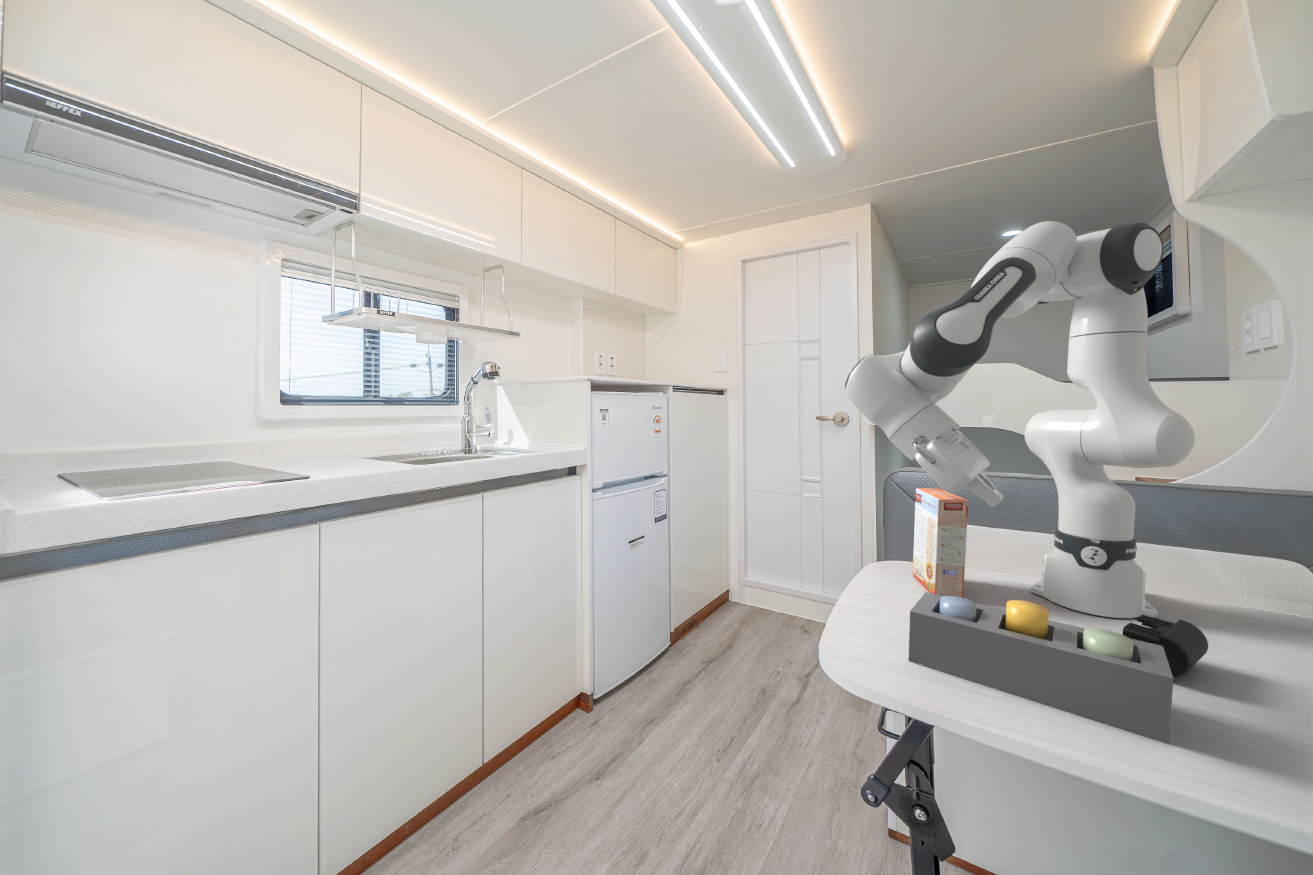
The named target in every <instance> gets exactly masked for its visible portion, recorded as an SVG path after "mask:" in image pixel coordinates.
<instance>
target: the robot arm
mask: <svg viewBox="0 0 1313 875" xmlns="http://www.w3.org/2000/svg"><path fill="white" fill-rule="evenodd" d="M1163 256H1164V243H1163V239H1162V236H1161V234H1160V233H1159V232H1158V230H1157V229H1155V228H1154V227H1153V226H1151V225H1150V224H1149V223H1146V222H1131V223H1123V224H1118V225H1115V226H1112V228H1107V229H1102V230H1097V231H1091V232H1088V233H1084V234H1082V235H1078V236H1077V235H1076V233H1075V231H1074V230H1073V229H1072V228H1071V226H1069V225H1068V224H1066V223H1063V222H1059V221H1055V220H1048V221H1047V220H1045V221H1041V222H1040V221H1039V222H1037V223H1035V224H1033V225H1030V226H1028V227H1027V228H1026V229H1024V230H1022V231H1021V232H1019V233H1018V234H1017V235H1015V236H1014V237H1012V238H1011V239H1010V240H1009V241H1008V242H1007V243H1005V244H1004V245H1003V246H1002V247H1001V248H1000V249H999V250H998V251H997V252H996V253H994V255H993V256H992V257H990V258H989V259H988V260H987V262H986V263H985V264H984V266H982V268H981V269H980V270H979V272H978V274H977V275H976V277H975V278H974V280H973V282H972V284H971V286H970V288H969V289H968V290H967V291H966V292H965V293H964V294H963V295H961V297H960V298H958V299H957V300H956V301H954V302H951V303H949V304H947V305H945V306H942V307H939V308H938V309H935V310H933V311H931V312H930V313H928V314H926V315H925V316H924V317H922V318H921V319H920V321H919V322H918V323H917V324H916V327H915V329H914V331H913V334H912V337H911V339H910V342H909V343H908V346H907V348H906V349H905V350H904V351H900V352H896V353H893V354H885V355H884V354H883V355H877V354H872V353H869V354H867V355H865V356H863V357H862V358H861V359H860V360H859V361H858V362H857V363H855V365H854V366H853V368H852V370H851V371H850V372H849V374H848V375H847V378H846V380H845V383H844V391H845V393H846V396H847V397H848V398H849V399H850V401H851V402H852V404H853V405H854V406H855V407H856V408H857V409H858V411H860V413H861V414H862V415H863V416H864V417H865V418H867V419H868V421H870V422H871V423H872V424H873V425H876V426H877V427H878V428H880V429H881V431H883V433H884V434H885V435H886V437H887V439H888V440H889V441H890V442H891V443H892V444H893V445H894V446H895V447H896V448H897V449H898V450H899V451H900V452H901V453H902V454H904V455H905V456H906V458H908V459H909V461H911V462H913V461H915V460H916V462H917V463H918V464H919V465H920V467H921V468H922V469H923V470H924V471H925V472H926V473H927V474H928V476H930V478H932V480H933V481H934V482H935V483H936V484H937V485H938V486H939V487H941V488H940V489H943V490H945V491H946V492H948V493H950V494H954V495H956V493H958V492H960V490H962V488H964V487H965V488H966V489H967V490H969V491H970V492H971V493H972V494H974V495H975V496H976V497H978V498H981V499H982V500H983V501H984V502H985V503H987V505H988V506H989V507H993V508H994V507H995V506H997V505H998V504H1000V503H1001V502H1002V500H1003V499H1004V495H1003V493H1001V492H1000V491H999V490H998V488H996V486H994V484H993V483H992V482H991V480H990V479H989V478H988V476H986V475H985V474H984V473H983V472H984V471H985V470H986V469H987V468H989V467H990V465H991V464H990V463H991V462H990V461H989V460H988V458H987V457H986V456H985V455H984V454H983V453H982V451H981V450H980V449H979V448H978V447H977V446H976V445H975V444H974V443H973V442H972V441H971V440H970V439H969V437H967V436H966V435H965V434H964V433H963V432H961V430H959V429H960V427H961V426H960V424H958V422H956V421H955V420H954V419H953V417H951V416H950V415H949V414H948V413H946V411H944V410H943V409H942V408H941V407H940V406H938V404H936V403H937V402H939V401H941V400H943V399H944V398H946V397H947V396H948V395H950V394H951V393H952V392H953V391H954V389H955V388H956V387H957V386H958V385H959V383H960V382H961V381H962V380H963V379H964V377H965V376H966V375H967V373H968V372H969V371H970V370H971V369H972V367H974V366H975V364H976V363H978V361H980V359H982V357H984V355H985V354H986V353H987V351H988V349H989V346H990V343H991V338H992V334H993V330H994V329H993V328H994V326H995V324H996V323H997V322H998V321H999V320H1000V318H1008V319H1009V318H1016V317H1019V316H1021V315H1023V314H1024V313H1026V312H1027V311H1029V310H1030V309H1031V308H1033V307H1035V305H1045V304H1049V303H1051V302H1061V301H1063V302H1064V301H1071V300H1073V302H1074V307H1073V310H1072V314H1071V320H1070V326H1069V333H1068V334H1069V337H1068V347H1067V348H1068V349H1067V350H1068V352H1067V367H1066V374H1067V377H1068V379H1069V380H1070V381H1071V382H1072V383H1073V384H1074V385H1076V386H1077V387H1078V386H1079V387H1081V388H1083V389H1085V390H1087V391H1089V392H1090V393H1091V394H1092V396H1093V397H1094V400H1095V404H1096V408H1095V407H1090V408H1087V407H1085V408H1084V407H1082V408H1081V407H1080V408H1079V407H1077V408H1076V407H1074V408H1073V407H1072V408H1071V407H1063V408H1057V409H1056V408H1054V409H1049V410H1045V411H1040V412H1038V413H1036V414H1035V413H1034V415H1033V416H1032V417H1031V418H1030V419H1029V421H1027V423H1026V426H1025V429H1024V442H1025V444H1026V445H1027V447H1028V449H1029V451H1031V452H1032V454H1034V455H1035V456H1036V457H1038V458H1039V459H1040V460H1041V461H1042V462H1043V463H1044V465H1045V466H1046V468H1047V469H1048V470H1049V472H1050V474H1051V476H1052V478H1053V481H1054V484H1055V486H1056V490H1057V497H1058V498H1057V499H1058V500H1057V501H1058V520H1057V527H1056V528H1055V530H1054V535H1053V540H1054V542H1053V543H1054V544H1053V545H1054V549H1053V550H1052V551H1050V552H1048V553H1047V554H1045V555H1044V557H1043V559H1042V562H1043V571H1042V574H1041V576H1042V578H1041V579H1039V580H1038V581H1037V582H1036V583H1034V584H1033V585H1031V586H1030V592H1031V593H1033V594H1035V595H1039V596H1041V597H1043V598H1045V599H1047V600H1049V601H1051V602H1053V603H1055V604H1057V605H1059V606H1062V607H1065V608H1067V609H1070V610H1074V611H1077V612H1082V613H1084V614H1090V615H1095V616H1100V617H1106V618H1115V619H1133V618H1138V617H1139V616H1141V615H1146V616H1150V617H1153V618H1158V617H1159V611H1158V610H1157V609H1156V608H1155V607H1154V606H1152V604H1151V603H1150V602H1149V601H1147V599H1146V579H1147V578H1146V576H1147V575H1146V571H1145V570H1144V569H1143V568H1142V567H1141V566H1140V565H1139V564H1137V562H1136V561H1135V558H1136V555H1137V550H1138V547H1137V539H1136V538H1134V536H1135V535H1134V534H1135V533H1134V532H1135V518H1136V501H1135V499H1134V498H1133V496H1132V495H1131V494H1130V492H1128V491H1127V490H1126V489H1124V488H1123V487H1121V486H1119V485H1117V484H1116V483H1114V482H1113V481H1112V480H1111V479H1110V477H1108V474H1106V471H1105V468H1104V466H1111V467H1120V468H1121V467H1122V468H1123V467H1124V468H1131V469H1132V468H1133V469H1155V468H1168V467H1173V466H1174V467H1175V466H1176V465H1178V464H1180V463H1181V462H1182V461H1185V459H1186V458H1187V457H1188V456H1190V454H1191V452H1192V450H1193V448H1194V446H1195V442H1196V438H1195V437H1196V436H1195V431H1194V428H1193V426H1192V425H1191V424H1190V422H1189V421H1188V420H1187V418H1185V417H1184V416H1183V415H1181V414H1179V413H1178V412H1176V411H1175V410H1173V409H1171V408H1170V407H1169V406H1168V405H1166V404H1165V403H1164V402H1163V401H1162V400H1161V398H1159V396H1158V395H1157V393H1156V392H1155V391H1154V389H1153V388H1152V385H1151V383H1150V380H1149V378H1148V377H1149V376H1148V370H1147V347H1148V346H1147V345H1148V329H1149V328H1148V327H1149V321H1148V320H1149V319H1148V318H1149V317H1148V316H1149V315H1148V304H1147V299H1146V298H1147V297H1146V293H1145V289H1144V287H1145V285H1146V284H1147V282H1149V280H1151V278H1153V276H1154V274H1155V273H1156V272H1157V270H1158V268H1159V267H1160V265H1161V263H1162V260H1163Z"/></svg>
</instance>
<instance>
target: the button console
mask: <svg viewBox="0 0 1313 875" xmlns="http://www.w3.org/2000/svg"><path fill="white" fill-rule="evenodd" d="M941 597H943V596H941V595H937V594H932V593H930V592H929V591H928V592H927V591H926V592H924V593H923V594H922V596H921V598H919V600H918V601H917V602H915V604H914V605H913V607H912V608H911V609H910V610H909V632H908V633H909V638H908V662H911V661H913V662H912V663H914V662H916V663H915V664H917V663H919V664H918V665H920V664H923V665H925V666H924V667H926V666H928V667H927V668H930V667H931V668H930V669H933V670H936V669H937V670H936V671H940V672H942V671H943V673H945V672H946V674H949V675H951V676H955V677H959V678H962V679H965V680H967V681H971V682H974V683H977V684H979V685H984V686H987V687H989V688H992V689H995V690H998V691H1002V692H1006V693H1009V694H1012V695H1015V696H1017V697H1021V698H1024V699H1027V700H1030V701H1033V702H1037V703H1039V704H1043V705H1046V706H1049V707H1053V708H1056V709H1059V710H1061V711H1064V712H1068V713H1071V714H1074V715H1076V716H1077V715H1078V716H1080V717H1084V718H1087V719H1090V720H1093V721H1097V722H1100V723H1103V724H1105V725H1108V726H1112V727H1115V728H1118V729H1121V730H1125V731H1128V732H1130V733H1133V734H1136V735H1140V736H1142V737H1143V736H1144V737H1145V738H1149V739H1153V740H1155V741H1159V742H1162V743H1164V744H1168V745H1169V744H1170V731H1171V718H1172V717H1171V715H1172V707H1173V706H1172V703H1173V691H1174V689H1173V688H1174V677H1173V676H1172V673H1171V670H1170V666H1169V663H1168V660H1167V657H1166V654H1165V651H1164V648H1163V646H1160V645H1156V644H1152V643H1147V642H1143V641H1138V640H1134V639H1131V640H1132V641H1133V658H1132V662H1131V661H1127V660H1123V659H1119V658H1115V657H1111V656H1107V655H1103V654H1099V653H1095V652H1091V651H1087V650H1083V632H1084V629H1087V628H1086V627H1082V626H1081V627H1080V626H1076V625H1073V624H1069V623H1063V622H1058V621H1055V620H1049V619H1048V636H1047V637H1046V638H1043V639H1039V638H1035V637H1031V636H1027V635H1023V634H1019V633H1015V632H1011V631H1009V630H1008V629H1007V628H1006V609H1002V608H996V607H992V606H989V605H984V604H980V603H975V602H974V603H975V604H976V623H975V622H971V621H967V620H963V619H959V618H955V617H951V616H947V615H943V614H939V613H940V598H941ZM923 665H922V666H923Z"/></svg>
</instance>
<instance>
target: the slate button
mask: <svg viewBox="0 0 1313 875" xmlns="http://www.w3.org/2000/svg"><path fill="white" fill-rule="evenodd" d="M976 604H977V603H976ZM976 604H975V602H974V601H973V600H971V599H969V598H965V597H963V598H962V597H957V596H943V597H941V598H940V613H939V614H943V615H947V616H951V617H955V618H959V619H963V620H967V621H971V622H975V623H976Z"/></svg>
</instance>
